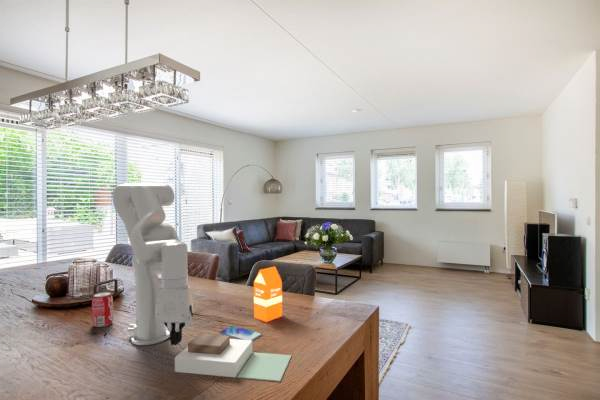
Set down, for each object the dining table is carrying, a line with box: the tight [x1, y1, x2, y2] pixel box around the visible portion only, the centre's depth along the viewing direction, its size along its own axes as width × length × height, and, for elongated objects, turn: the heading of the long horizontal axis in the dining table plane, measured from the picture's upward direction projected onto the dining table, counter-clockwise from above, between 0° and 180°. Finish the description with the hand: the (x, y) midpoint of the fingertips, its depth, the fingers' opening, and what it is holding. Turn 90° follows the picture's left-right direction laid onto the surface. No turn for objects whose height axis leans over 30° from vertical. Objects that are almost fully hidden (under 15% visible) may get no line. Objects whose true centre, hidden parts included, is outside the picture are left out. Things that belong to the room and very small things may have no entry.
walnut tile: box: [187, 333, 231, 355], centre depth 96 cm, size 10×7×2 cm
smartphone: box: [218, 325, 263, 342], centre depth 116 cm, size 7×1×15 cm
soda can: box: [91, 291, 114, 328], centre depth 126 cm, size 7×7×12 cm
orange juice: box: [253, 266, 283, 323], centre depth 132 cm, size 8×9×20 cm
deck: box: [174, 338, 254, 378], centre depth 96 cm, size 18×14×4 cm
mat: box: [236, 351, 292, 382], centre depth 93 cm, size 12×14×1 cm
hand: (176, 343), depth 98 cm, fingers closed
